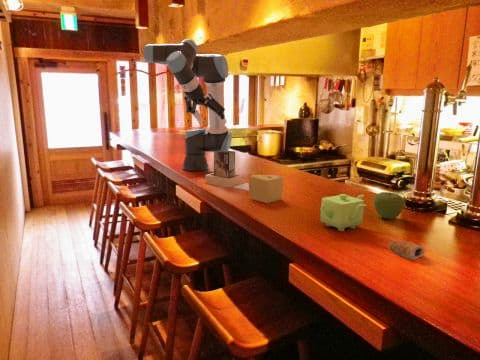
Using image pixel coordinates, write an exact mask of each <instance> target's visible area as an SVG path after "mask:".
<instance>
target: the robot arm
mask: <svg viewBox="0 0 480 360" xmlns="http://www.w3.org/2000/svg"><path fill="white" fill-rule="evenodd" d="M197 52H198V45H197V44H196V42H195V41H194V40H192V39H188V38H185V39H183V40H182V41H181V42H180V43H165V44H164V43H163V44H162V43H159V44H158V43H151V44H148V43H147V44H146V45H144V47H143V54H142V55H143V58H144V60H145V61H146V62H147V63H152V64H160V65H163V66H166V67H168V69H169V71H170V72H171V74H172V75H173V77H174V78H175V79H176V81H177V83H178V85H179V86H180V88H181V89H182V91H183V93H184V94H185V96H184V98H183V99H184V101H185V106H186V107H185V108H186V113H190V114H192V116H193V117H194V118H195V119H196V121H197V122H198V124H199V125H202V124H203V122H204V118H203V117H202V115H201V113H200V112H199V111H198V109H197V106H204V107H207V109H208V120H209V127H208V128H207V130H206V128H197V129H188V130H186V131H185V136H184V139H185V142H184V143H185V144H184V145H185V146H184V147H185V148H184V149H185V155H184V159H183V163H182V166H181V167H182V170H184V171H188V172H202V171H207V170H208V169H209V163H208V159H207V157H206V153H207V152H208V153H214V151H217V150H226V151H230V148H231V144H232V138H233V137H232V132H230V131H229V128H228V127H227V126H226V124H227V121H228V120H227V119H226V116H225V110H226V109H225V101H224V83H225V82H226V79H227V78H228V77H229V64H228V63H229V62H228V61H227V58H226V57H225V55H223V54H216V53H213V54H212V53H210V54H209V53H206V54H205V53H204V54H200V53H199V54H198V53H197ZM198 78H202V81H203V83H204V84H205V85H206V94H205V93H204V89H203V87H202V85H201V84H200V81H199V80H198Z"/></svg>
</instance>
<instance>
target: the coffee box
mask: <svg viewBox="0 0 480 360" xmlns="http://www.w3.org/2000/svg"><path fill="white" fill-rule="evenodd" d="M213 173H214V176H216V177H222V178H227V179H230V178H234V177H235V174H236V151H234V150H228V151H226V150H217V151H214V152H213Z"/></svg>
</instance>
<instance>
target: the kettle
mask: <svg viewBox="0 0 480 360" xmlns="http://www.w3.org/2000/svg"><path fill="white" fill-rule="evenodd" d="M364 196H365V195H364V194H359V195H357V197H354V196H351V195H348V194H347V193H346V194H345V193H341V194H338V195H333V196H332V195H331V196H326V197H325V196H324V197H322V198H321V206H320V207H321V208H319V209H320V210H319V211H320V223H321V222H322V223H325V226H326V227H333V228H337V231H338V232H345V231H346V230H345V229H346V228H350V229H356V228H357V227H356V226H359V225H362V224H363V220H364V210H365V207H366V206H367V205H366V204H365V200H363V199H362V198H363V197H364Z"/></svg>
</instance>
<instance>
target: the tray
mask: <svg viewBox="0 0 480 360" xmlns="http://www.w3.org/2000/svg"><path fill="white" fill-rule="evenodd" d="M204 180H205V181H204V182H205V184H211V185H214V186H219V187H224V188H231V187H232V188H233V187H234V186H238V185H241V184H244V175H242V174H237V173H235V177H234V178H230V179H227V178H222V177H216V176H214V172H212V173H209V174H205V179H204Z"/></svg>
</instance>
